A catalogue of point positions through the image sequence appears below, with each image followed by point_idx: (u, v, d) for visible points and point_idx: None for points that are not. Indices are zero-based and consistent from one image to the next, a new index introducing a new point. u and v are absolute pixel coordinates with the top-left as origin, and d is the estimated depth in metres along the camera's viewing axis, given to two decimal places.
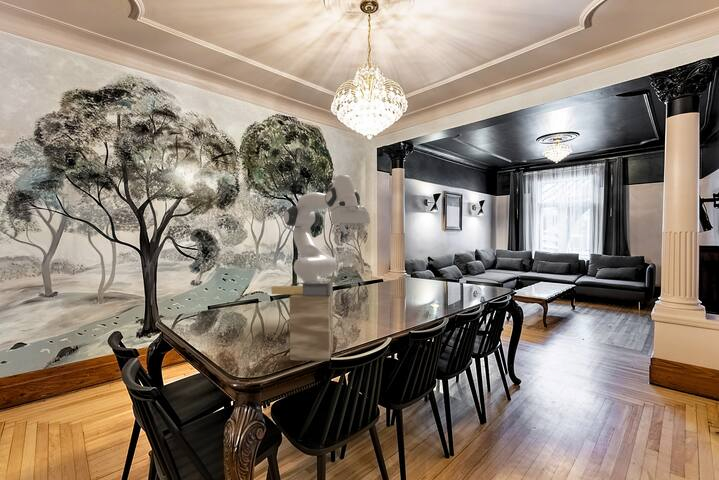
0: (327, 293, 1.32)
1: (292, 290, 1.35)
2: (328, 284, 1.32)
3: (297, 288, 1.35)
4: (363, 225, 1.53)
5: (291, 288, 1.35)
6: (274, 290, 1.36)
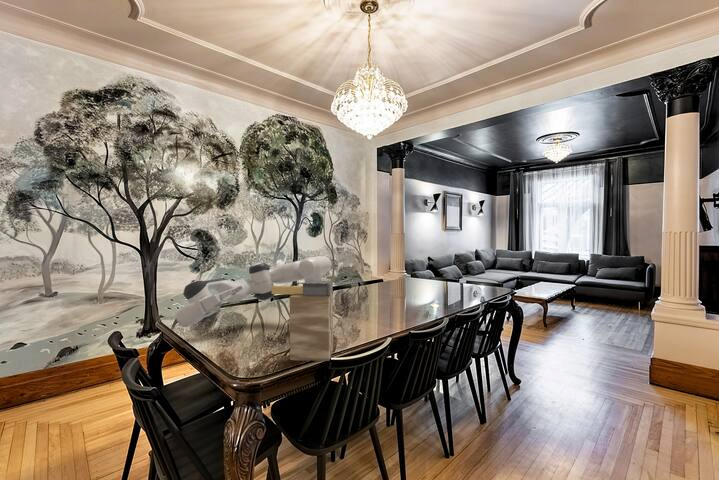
0: (327, 293, 1.32)
1: (292, 290, 1.35)
2: (328, 284, 1.32)
3: (297, 288, 1.35)
4: (234, 288, 1.44)
5: (291, 288, 1.35)
6: (274, 290, 1.36)
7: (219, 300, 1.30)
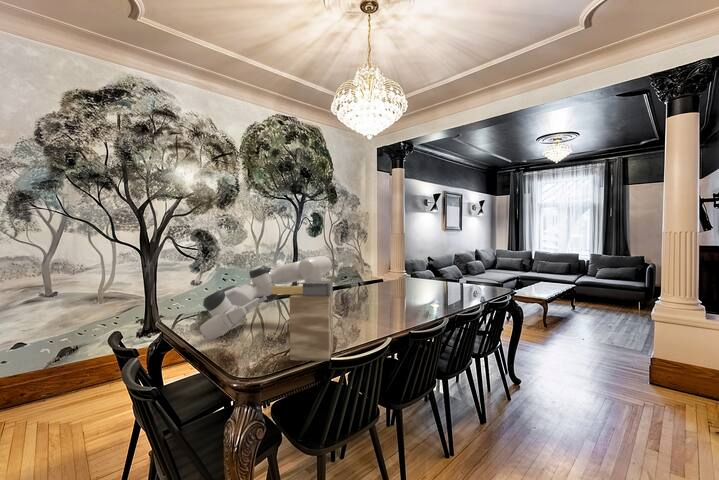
0: (327, 293, 1.32)
1: (292, 290, 1.35)
2: (328, 284, 1.32)
3: (297, 288, 1.35)
4: (258, 299, 1.43)
5: (291, 288, 1.35)
6: (274, 290, 1.36)
7: (245, 312, 1.29)
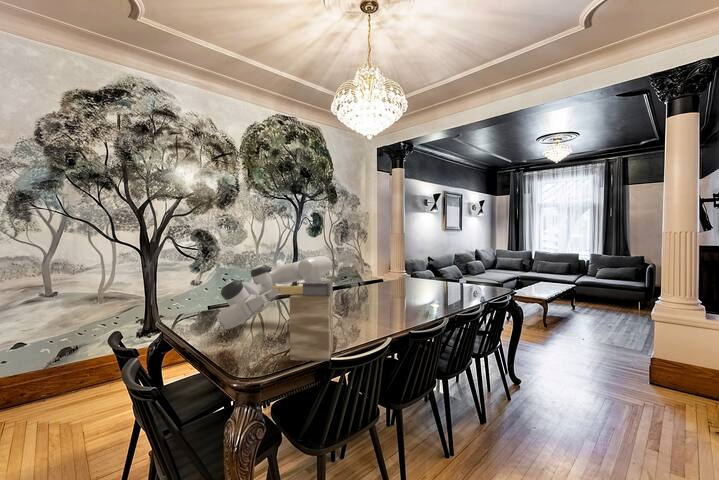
0: (327, 293, 1.32)
1: (292, 290, 1.35)
2: (328, 284, 1.32)
3: (297, 288, 1.35)
4: None
5: (291, 288, 1.35)
6: None
7: (265, 300, 1.29)
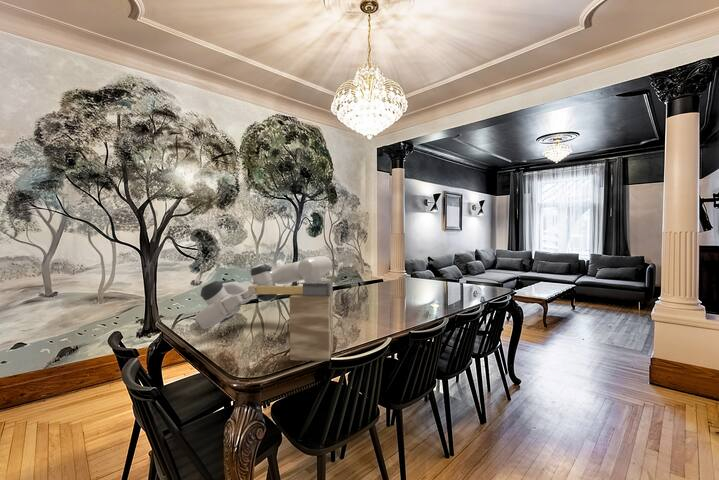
0: (327, 293, 1.32)
1: (268, 290, 1.36)
2: (328, 284, 1.32)
3: (273, 288, 1.36)
4: None
5: (267, 288, 1.36)
6: None
7: (240, 300, 1.30)
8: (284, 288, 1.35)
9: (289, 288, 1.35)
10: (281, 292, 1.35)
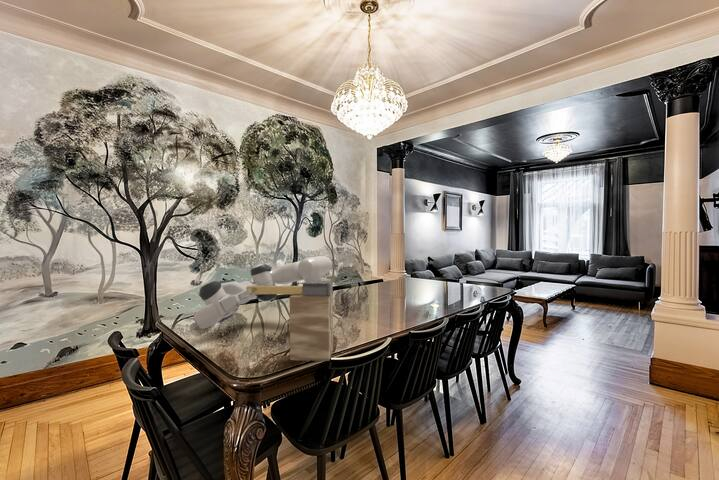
0: (327, 293, 1.32)
1: (266, 290, 1.36)
2: (328, 284, 1.32)
3: (271, 288, 1.36)
4: None
5: (266, 288, 1.36)
6: None
7: (238, 300, 1.30)
8: (282, 288, 1.35)
9: (287, 288, 1.35)
10: (279, 292, 1.35)
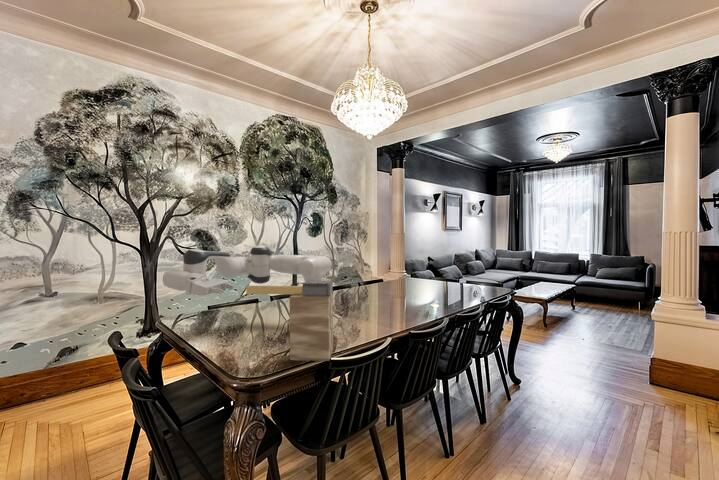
0: (327, 293, 1.32)
1: (266, 290, 1.36)
2: (328, 284, 1.32)
3: (271, 288, 1.36)
4: (227, 283, 1.46)
5: (266, 288, 1.36)
6: (249, 290, 1.36)
7: (206, 293, 1.32)
8: (282, 288, 1.35)
9: (287, 288, 1.35)
10: (279, 292, 1.35)
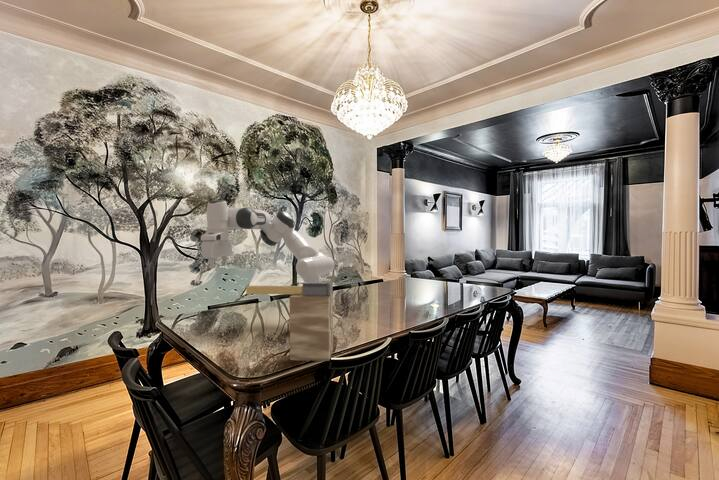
0: (327, 293, 1.32)
1: (266, 290, 1.36)
2: (328, 284, 1.32)
3: (271, 288, 1.36)
4: (226, 258, 1.48)
5: (266, 288, 1.36)
6: (249, 290, 1.36)
7: None
8: (282, 288, 1.35)
9: (287, 288, 1.35)
10: (279, 292, 1.35)
